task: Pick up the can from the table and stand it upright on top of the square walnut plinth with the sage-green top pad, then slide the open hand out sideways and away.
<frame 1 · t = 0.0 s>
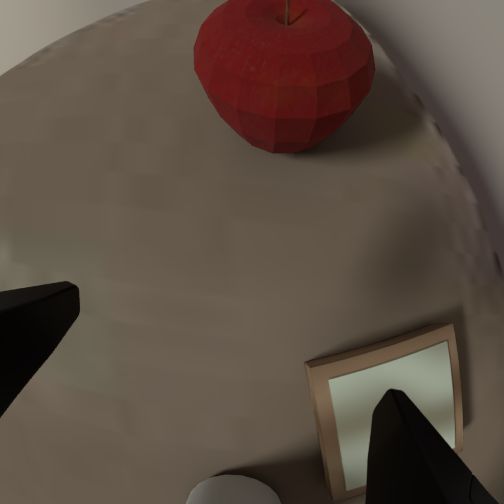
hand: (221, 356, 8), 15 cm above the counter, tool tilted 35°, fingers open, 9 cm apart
can: (235, 503, 19), on the counter
plinth: (384, 409, 20), on the counter
apple: (279, 124, 26), on the counter
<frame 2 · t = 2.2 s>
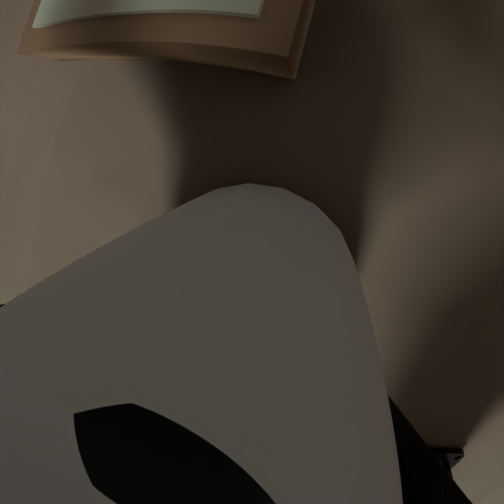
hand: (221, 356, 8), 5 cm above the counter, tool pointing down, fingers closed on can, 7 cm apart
can: (257, 275, 12), on the counter, touching gripper
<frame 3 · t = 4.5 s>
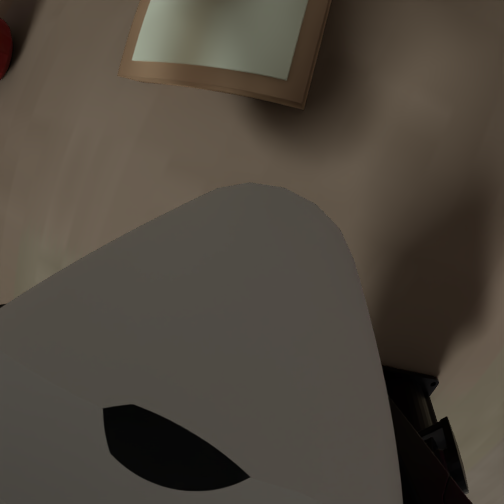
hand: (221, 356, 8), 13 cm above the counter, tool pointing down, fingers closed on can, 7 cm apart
can: (258, 273, 13), point 8 cm above the counter, touching gripper
plinth: (237, 15, 15), on the counter
apple: (3, 62, 19), on the counter
when the fingers open (9 cm above the counter, at t = 7.0 s): can stays where it is, resting on plinth.
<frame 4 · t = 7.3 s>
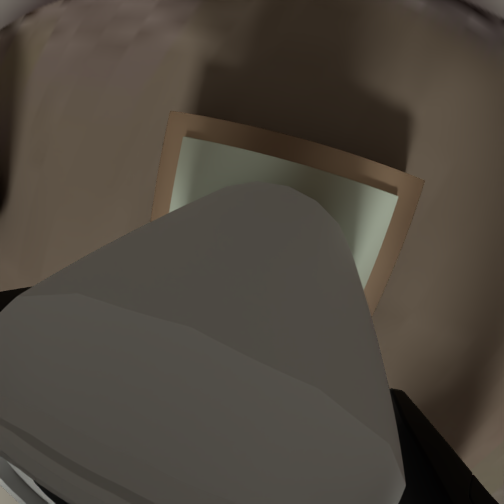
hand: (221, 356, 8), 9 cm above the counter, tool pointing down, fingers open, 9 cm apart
can: (263, 266, 14), point 3 cm above the counter, touching plinth
plinth: (272, 242, 16), on the counter
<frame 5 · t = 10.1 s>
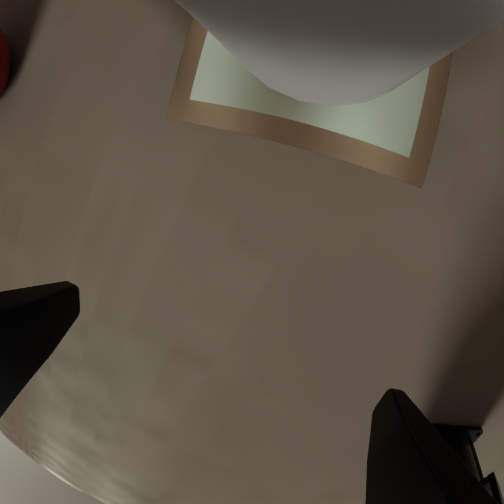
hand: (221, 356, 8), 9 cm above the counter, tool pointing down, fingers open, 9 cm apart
can: (325, 24, 10), point 3 cm above the counter, touching plinth
plinth: (322, 44, 12), on the counter
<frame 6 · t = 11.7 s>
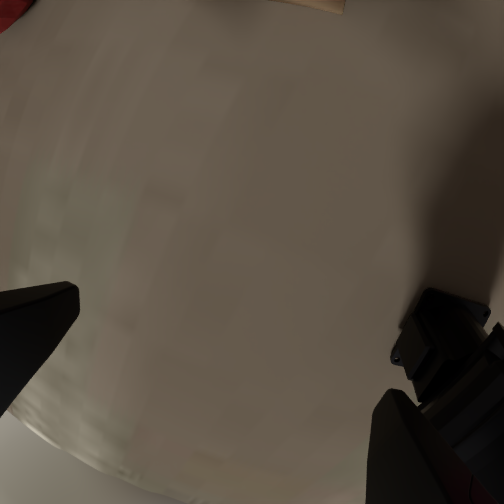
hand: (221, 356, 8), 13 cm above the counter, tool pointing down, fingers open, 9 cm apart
apple: (25, 2, 17), on the counter
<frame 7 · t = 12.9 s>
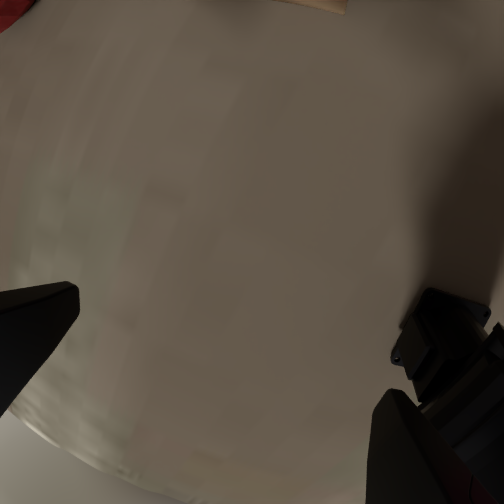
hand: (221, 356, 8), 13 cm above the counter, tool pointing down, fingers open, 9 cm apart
apple: (27, 0, 17), on the counter
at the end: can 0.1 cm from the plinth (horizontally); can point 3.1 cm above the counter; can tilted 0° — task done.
